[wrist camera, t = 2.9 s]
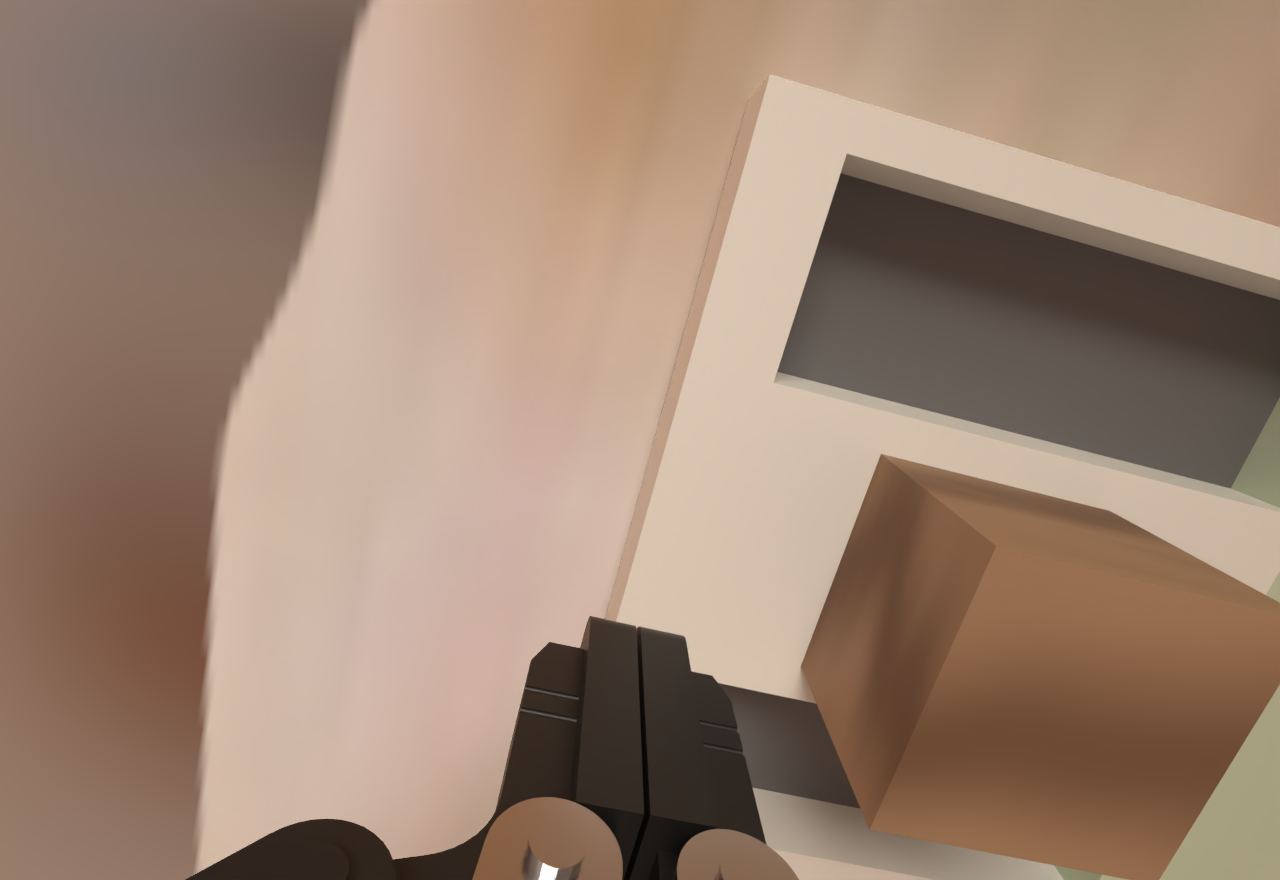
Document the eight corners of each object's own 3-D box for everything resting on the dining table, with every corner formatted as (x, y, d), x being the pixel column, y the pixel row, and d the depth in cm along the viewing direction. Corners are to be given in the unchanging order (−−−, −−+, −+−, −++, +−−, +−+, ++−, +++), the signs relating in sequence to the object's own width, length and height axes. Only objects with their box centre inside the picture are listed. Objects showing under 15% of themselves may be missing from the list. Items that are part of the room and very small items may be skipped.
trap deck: (747, 101, 16) (787, 52, 12) (1755, 399, 18) (2058, 439, 14) (563, 769, 21) (549, 887, 17) (1363, 924, 24) (1507, 1056, 20)
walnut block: (881, 453, 15) (995, 546, 11) (1109, 510, 16) (1317, 623, 11) (800, 666, 17) (869, 829, 12) (1011, 711, 18) (1155, 884, 13)
